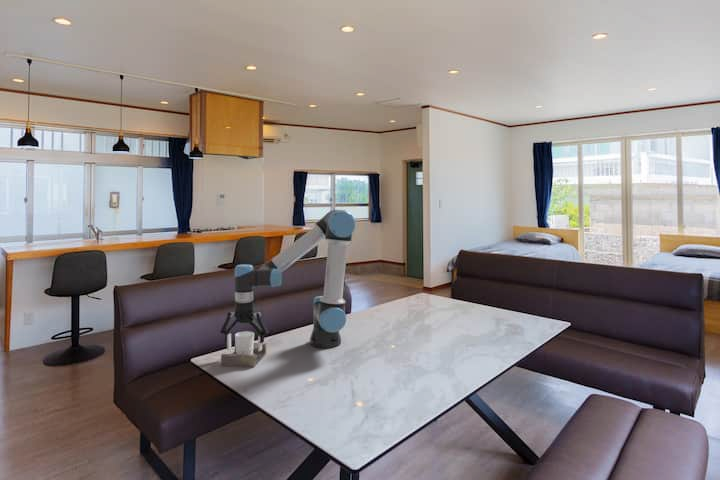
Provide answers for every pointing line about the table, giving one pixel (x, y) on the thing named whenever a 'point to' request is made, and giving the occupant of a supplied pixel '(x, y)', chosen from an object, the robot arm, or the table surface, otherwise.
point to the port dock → (244, 358)
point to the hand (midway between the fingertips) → (244, 349)
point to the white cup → (244, 343)
